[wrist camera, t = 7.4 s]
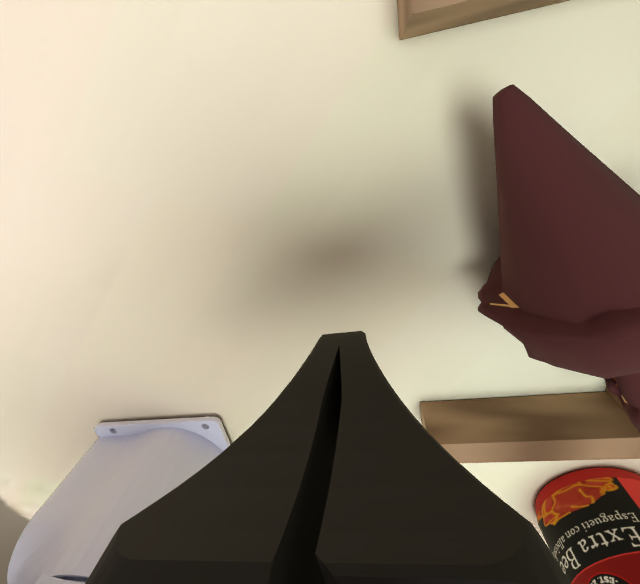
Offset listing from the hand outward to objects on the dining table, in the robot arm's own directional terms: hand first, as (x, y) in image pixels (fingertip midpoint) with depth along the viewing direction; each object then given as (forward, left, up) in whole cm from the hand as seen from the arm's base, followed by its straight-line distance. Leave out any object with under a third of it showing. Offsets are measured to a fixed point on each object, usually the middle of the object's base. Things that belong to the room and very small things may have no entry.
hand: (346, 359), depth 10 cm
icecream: (+9, 0, -7) cm, 11 cm away
